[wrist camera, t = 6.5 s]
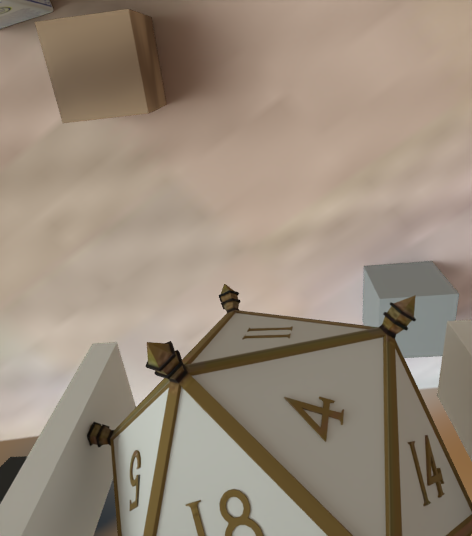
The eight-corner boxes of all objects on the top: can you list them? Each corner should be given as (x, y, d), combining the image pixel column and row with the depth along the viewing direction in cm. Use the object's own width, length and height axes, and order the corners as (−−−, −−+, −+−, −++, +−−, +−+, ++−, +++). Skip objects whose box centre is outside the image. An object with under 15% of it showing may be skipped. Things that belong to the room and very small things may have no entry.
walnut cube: (73, 28, 26) (34, 21, 22) (151, 17, 26) (128, 8, 21) (94, 112, 28) (63, 123, 24) (166, 104, 28) (148, 113, 23)
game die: (278, 251, 15) (548, 156, 6) (375, 456, 16) (782, 683, 6) (35, 372, 13) (-196, 560, 3) (158, 615, 13) (279, 1435, 4)
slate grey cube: (363, 265, 32) (379, 299, 28) (431, 260, 32) (459, 293, 27) (362, 320, 34) (377, 359, 30) (425, 316, 34) (450, 355, 29)
